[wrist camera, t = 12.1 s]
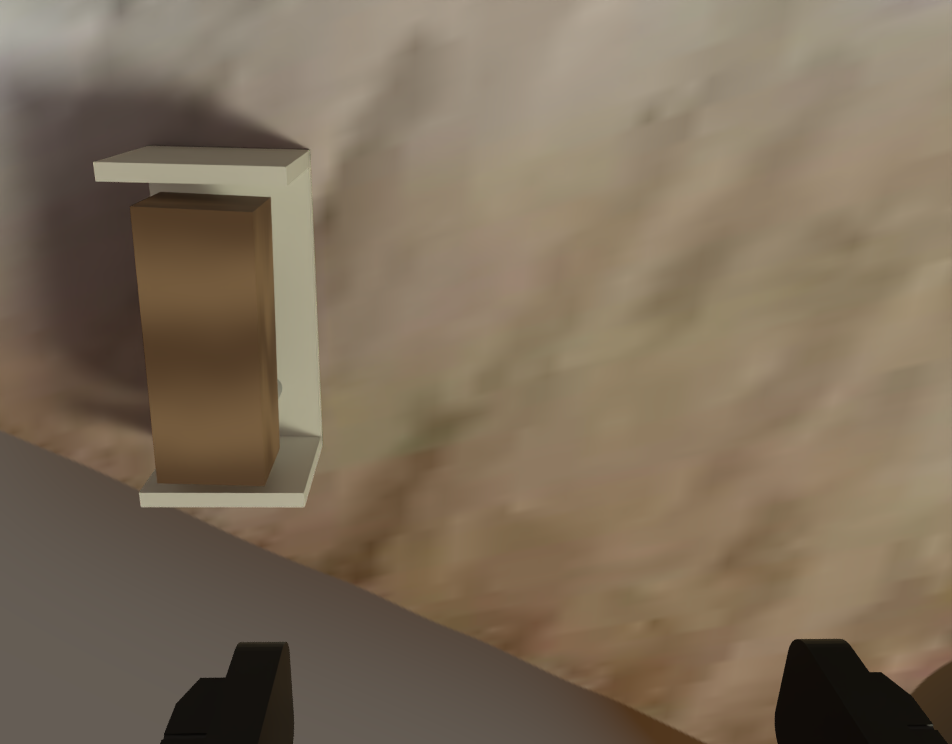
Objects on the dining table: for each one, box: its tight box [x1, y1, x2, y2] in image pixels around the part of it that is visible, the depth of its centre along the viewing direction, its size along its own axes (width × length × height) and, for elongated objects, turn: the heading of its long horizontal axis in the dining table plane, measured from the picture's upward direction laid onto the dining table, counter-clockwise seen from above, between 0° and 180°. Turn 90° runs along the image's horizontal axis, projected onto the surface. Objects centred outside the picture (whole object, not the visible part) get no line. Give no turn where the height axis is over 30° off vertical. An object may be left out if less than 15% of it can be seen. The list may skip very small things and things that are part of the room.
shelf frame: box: [93, 146, 323, 507], centre depth 40 cm, size 17×8×7 cm, turn 178°
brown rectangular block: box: [130, 192, 280, 486], centre depth 37 cm, size 13×5×4 cm, turn 177°
